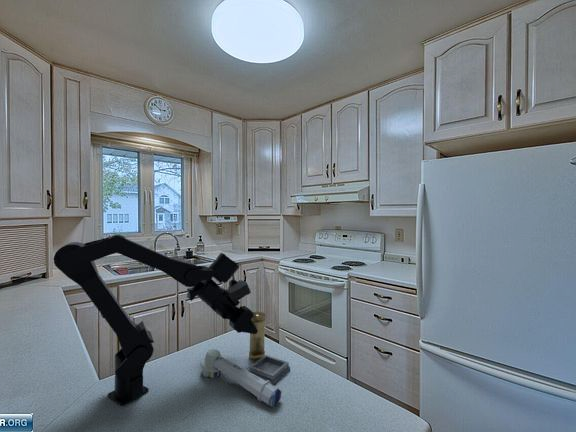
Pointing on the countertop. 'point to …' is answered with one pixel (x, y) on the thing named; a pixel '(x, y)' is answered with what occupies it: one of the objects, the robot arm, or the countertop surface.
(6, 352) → the countertop surface
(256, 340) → the brass domed cylinder
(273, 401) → the white long piece
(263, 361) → the shallow square tray
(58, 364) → the countertop surface
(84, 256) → the robot arm
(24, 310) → the countertop surface
